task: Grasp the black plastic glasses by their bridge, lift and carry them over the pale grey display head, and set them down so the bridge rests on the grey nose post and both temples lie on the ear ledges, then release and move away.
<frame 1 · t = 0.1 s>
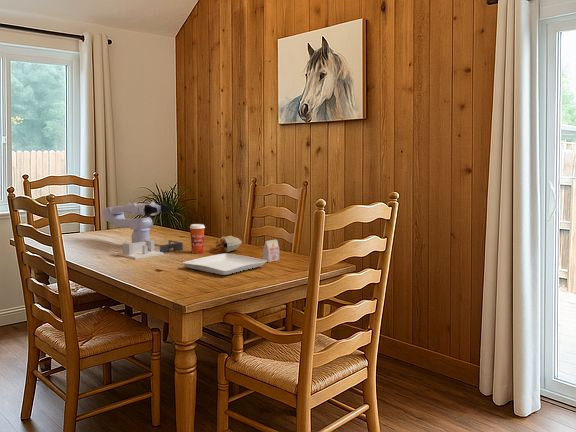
hand: (163, 209, 290), 22 cm above the table, fingers open, 7 cm apart
glasses: (171, 251, 295), on the table
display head: (145, 255, 284), on the table
square plate: (225, 269, 258), on the table
nautilus: (223, 252, 297), on the table
paper cup: (197, 252, 294), on the table
milk carton: (271, 261, 274), on the table
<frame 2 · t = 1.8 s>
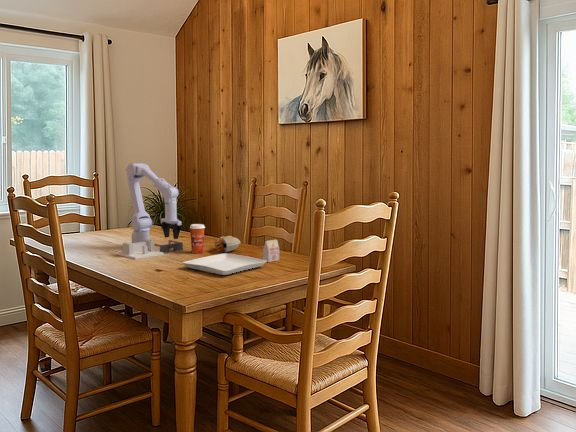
hand: (171, 238, 294), 7 cm above the table, fingers open, 7 cm apart
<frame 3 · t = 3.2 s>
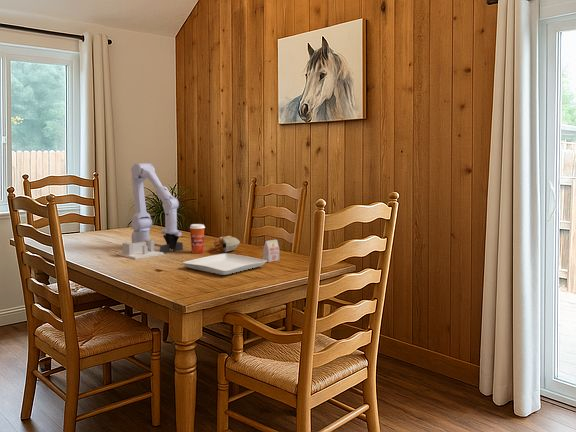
hand: (171, 248, 295), 1 cm above the table, fingers closed on glasses, 2 cm apart
glasses: (171, 251, 295), on the table, touching gripper
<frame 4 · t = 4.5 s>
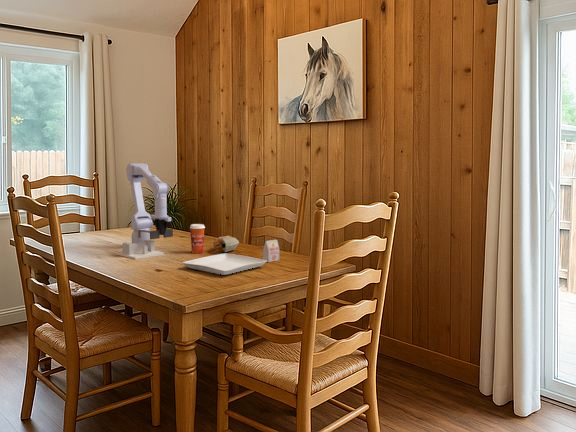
hand: (161, 234, 290), 9 cm above the table, fingers closed on glasses
glasses: (161, 237, 290), point 8 cm above the table, touching gripper
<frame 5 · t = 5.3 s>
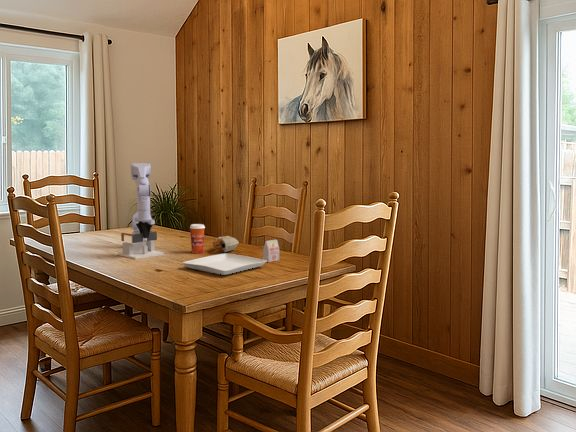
hand: (144, 237, 283), 9 cm above the table, fingers closed on glasses
glasses: (145, 241, 283), point 7 cm above the table, touching gripper
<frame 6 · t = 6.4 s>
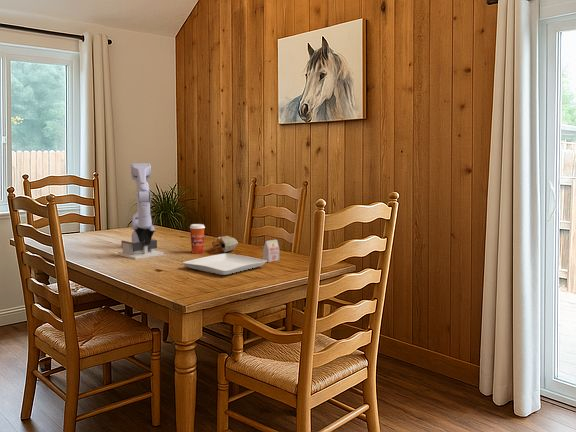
hand: (144, 243, 283), 6 cm above the table, fingers open, 4 cm apart
glasses: (145, 249, 284), point 3 cm above the table, touching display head
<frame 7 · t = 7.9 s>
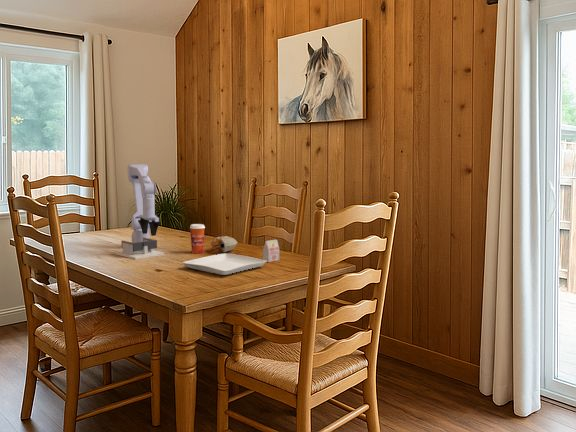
hand: (149, 234, 290), 9 cm above the table, fingers open, 7 cm apart
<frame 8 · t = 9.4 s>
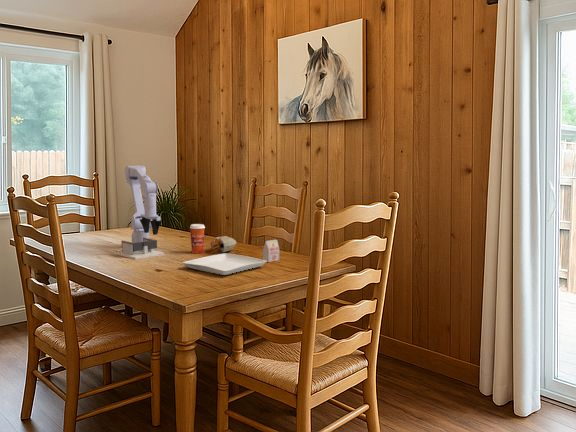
hand: (150, 233, 292), 9 cm above the table, fingers open, 7 cm apart
at the end: glasses 0.0 cm off-centre on the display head, point 3.0 cm above the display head's base; glasses tilted 0°; the gripper is holding nothing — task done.
